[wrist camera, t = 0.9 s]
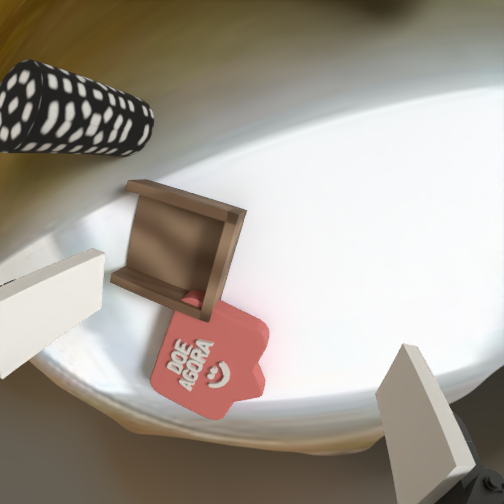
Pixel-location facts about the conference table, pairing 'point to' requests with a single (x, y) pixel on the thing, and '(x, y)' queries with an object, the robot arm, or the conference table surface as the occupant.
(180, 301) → the walnut tray
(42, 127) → the spotted tube
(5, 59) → the conference table surface
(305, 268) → the conference table surface
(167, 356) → the plaque
